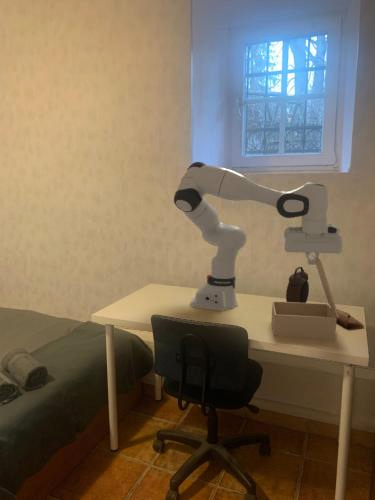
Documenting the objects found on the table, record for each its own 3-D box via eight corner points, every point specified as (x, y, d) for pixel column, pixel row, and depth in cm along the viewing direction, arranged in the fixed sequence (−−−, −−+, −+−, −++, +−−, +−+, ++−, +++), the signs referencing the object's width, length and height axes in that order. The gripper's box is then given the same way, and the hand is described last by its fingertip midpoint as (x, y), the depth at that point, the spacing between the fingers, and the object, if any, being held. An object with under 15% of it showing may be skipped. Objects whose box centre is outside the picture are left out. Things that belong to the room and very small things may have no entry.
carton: (273, 339, 144) (274, 314, 142) (271, 324, 159) (272, 301, 158) (334, 343, 140) (336, 318, 139) (326, 327, 156) (327, 303, 154)
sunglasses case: (366, 325, 153) (358, 314, 151) (353, 337, 153) (345, 325, 151) (340, 310, 171) (332, 300, 169) (328, 320, 170) (320, 310, 169)
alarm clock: (299, 315, 170) (301, 271, 166) (283, 311, 174) (286, 269, 170) (310, 306, 181) (312, 265, 178) (295, 303, 186) (297, 263, 182)
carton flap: (319, 261, 136) (321, 261, 135) (312, 252, 151) (313, 252, 151) (337, 317, 138) (339, 317, 138) (328, 303, 154) (329, 302, 154)
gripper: (285, 228, 138) (283, 265, 141) (344, 229, 135) (341, 267, 137) (283, 225, 144) (282, 261, 147) (340, 226, 141) (337, 263, 144)
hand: (311, 264), depth 142 cm, fingers closed
